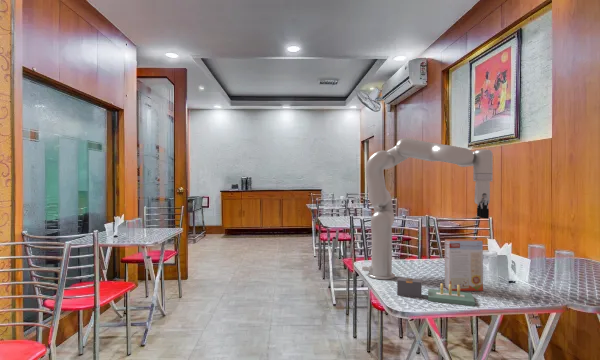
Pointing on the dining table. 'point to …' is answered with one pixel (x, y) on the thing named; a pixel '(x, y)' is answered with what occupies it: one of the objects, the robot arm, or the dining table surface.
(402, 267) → the dining table surface
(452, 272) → the cracker box
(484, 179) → the robot arm
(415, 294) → the block
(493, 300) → the dining table surface
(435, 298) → the header board
